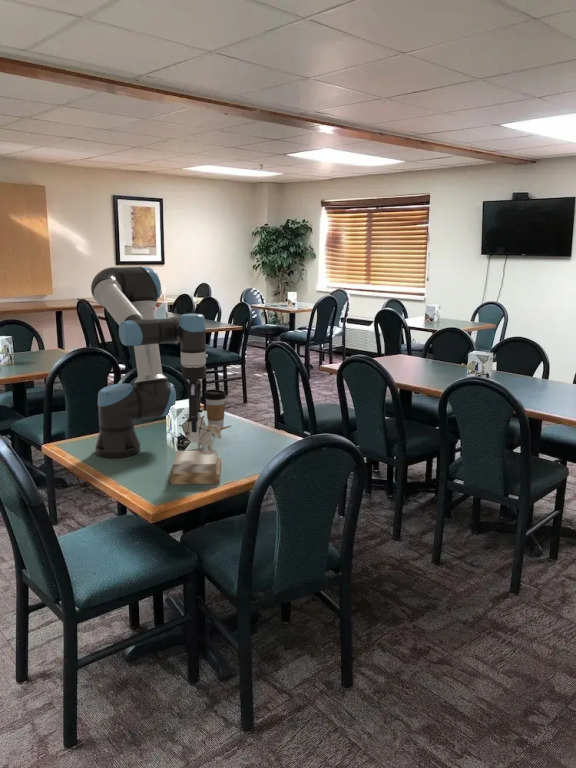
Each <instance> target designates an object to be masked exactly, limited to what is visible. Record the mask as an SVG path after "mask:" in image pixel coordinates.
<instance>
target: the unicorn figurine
mask: <svg viewBox="0 0 576 768" xmlns="http://www.w3.org/2000/svg"><path fill="white" fill-rule="evenodd" d="M218 426H219V425H208V424H207V425H206V427H207V429H208V430H210V431H207V432H206V433H205V434H204V435H203V436H202V437H201V438H200V439H199V441H200V442H197V450H196V451H201V448H202V450H206V448H207V450H213V445H214V438H213V436H212V434H213V435H214V436H216V437H217V439H219V440H221V439H222V437H223V436H222V433H221V431H223V430H225V429H228V428H231V427H232V425H227V426H223V428H219V427H218Z"/></svg>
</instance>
